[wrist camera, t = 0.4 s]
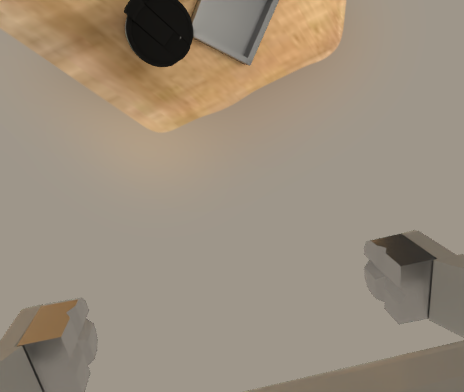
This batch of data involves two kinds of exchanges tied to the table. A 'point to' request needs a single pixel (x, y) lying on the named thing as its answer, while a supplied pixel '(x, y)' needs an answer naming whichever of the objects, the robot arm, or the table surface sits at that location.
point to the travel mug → (158, 30)
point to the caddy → (232, 25)
